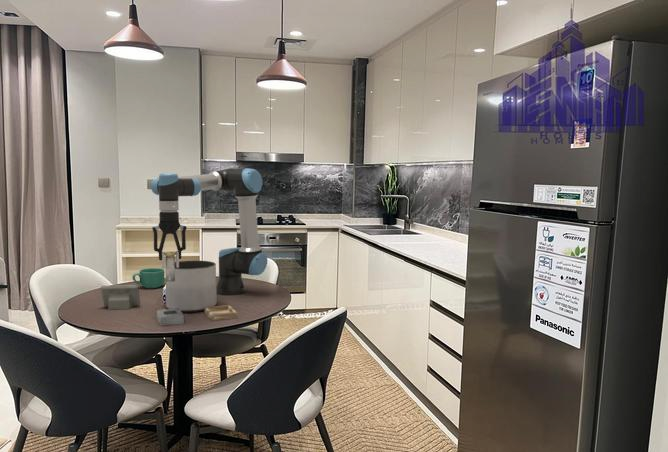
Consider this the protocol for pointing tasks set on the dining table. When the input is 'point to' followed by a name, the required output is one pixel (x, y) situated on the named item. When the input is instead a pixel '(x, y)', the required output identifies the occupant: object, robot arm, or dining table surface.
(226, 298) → the dining table surface
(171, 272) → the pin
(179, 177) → the robot arm
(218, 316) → the tray
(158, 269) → the mug
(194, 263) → the planter
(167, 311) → the block
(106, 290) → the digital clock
